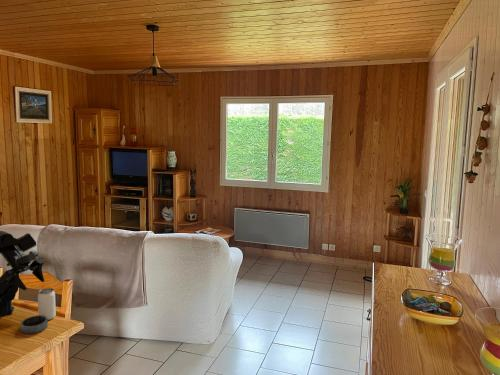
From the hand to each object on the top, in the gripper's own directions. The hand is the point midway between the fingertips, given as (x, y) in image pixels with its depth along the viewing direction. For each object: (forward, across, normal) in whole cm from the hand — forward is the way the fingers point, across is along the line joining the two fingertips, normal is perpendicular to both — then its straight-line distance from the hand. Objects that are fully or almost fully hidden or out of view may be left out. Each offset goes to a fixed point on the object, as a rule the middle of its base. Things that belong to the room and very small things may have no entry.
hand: (35, 285), depth 159 cm
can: (+14, 0, +6) cm, 15 cm away
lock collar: (+15, -9, +4) cm, 18 cm away
